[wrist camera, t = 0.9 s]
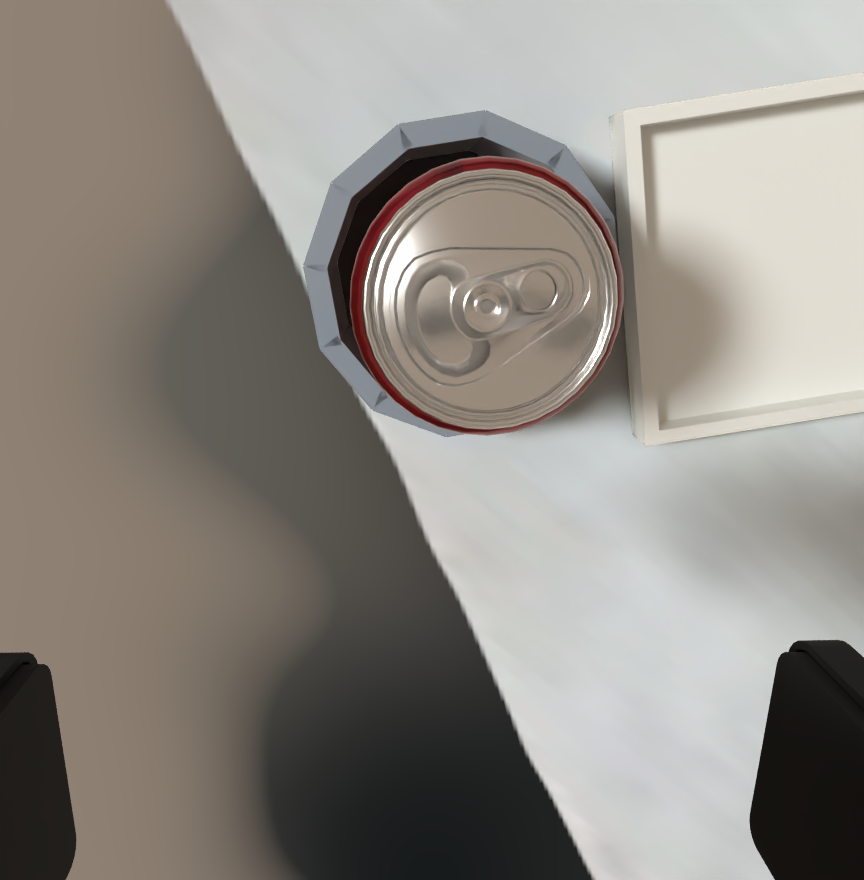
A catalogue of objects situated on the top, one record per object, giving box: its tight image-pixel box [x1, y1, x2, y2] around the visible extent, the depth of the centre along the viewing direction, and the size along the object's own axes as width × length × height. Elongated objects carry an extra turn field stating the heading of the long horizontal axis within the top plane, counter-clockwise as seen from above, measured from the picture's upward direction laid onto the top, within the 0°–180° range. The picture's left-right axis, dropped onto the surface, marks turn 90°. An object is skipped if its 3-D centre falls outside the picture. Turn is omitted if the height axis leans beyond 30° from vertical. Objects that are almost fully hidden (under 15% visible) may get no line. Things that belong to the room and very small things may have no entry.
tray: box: [609, 72, 864, 446], centre depth 29 cm, size 13×13×2 cm
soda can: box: [350, 156, 624, 436], centre depth 24 cm, size 7×7×12 cm
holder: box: [303, 110, 617, 437], centre depth 28 cm, size 11×11×4 cm
